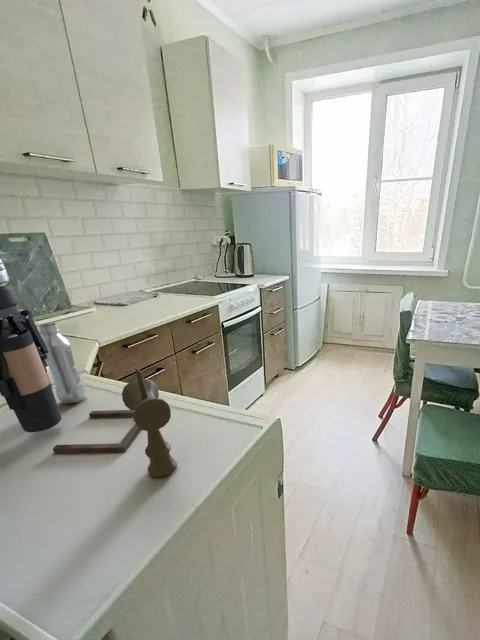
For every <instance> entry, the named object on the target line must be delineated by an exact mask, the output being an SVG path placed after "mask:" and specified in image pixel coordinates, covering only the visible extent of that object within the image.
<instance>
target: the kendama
mask: <svg viewBox="0 0 480 640" xmlns="http://www.w3.org/2000/svg"><path fill="white" fill-rule="evenodd" d="M135 375H136V379H133V380H131V381H129V382H128V383H126V385H124V386H123V389H122V392H121V398H122V399H121V400H122V402H123V405H124V407H126V408H127V409H128V410H134V417H133V421H134V424H135V423H136V425H137V426H138V427H139V428H140V429H141V431H143V432H147V433H146V434H147V446H146V447H145V449H144V453H145V456H146V457H148V459H149V464H148V465H147V474H149V475H150V476H151V477H153V478H163V477H166V476H168V475H171V474H172V473H173V472H174V471H176V470H177V467H178V463H177V460H176V459H175V458H173V457H172V456H171V453H170V451H171V448H172V447H171V444H170V443H169V442H168V441H166V440H165V438H164V437H163V434H162V432H161V430H160V429H162V428H164V427H165V426H166V425H167V424H168V423H169V422H170V418H171V415H172V413H171V412H172V411H171V410H172V409H171V407H170V405H169V403H168V402H167V401H166V400H165V399H163V398H161V397H160V398H159V396H160V395H159V394H160V393H159V388H158V386H157V384H156V383H155V382H154V381H153V380H151V379H148V378H144V377H143V375H142V372H141V370H140V369H139V368H137V369H135Z"/></svg>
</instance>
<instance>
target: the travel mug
mask: <svg viewBox="0 0 480 640" xmlns="http://www.w3.org/2000/svg"><path fill="white" fill-rule="evenodd" d="M0 347H1V349H2V351H3V353H4V356H5V358H6V361H7V363H8V375H9V378H14V380H15V383H16V385H17V387H18V390H19V392H20V394H21V397H22V399H23V401H24V404H25V406H26V408H24V409H15V410H13V412H14V414H15V416H16V418H17V420H18V422H19V424H20V426H21V428H22V430H23V431H24V432H25V433H29V434H30V433H31V434H33V433H39V432H43V431H47V430H50V429H52V428H54V427H55V426H57V425H58V424H59V423H61V421H62V415H61V412H60V409H59V405H58V403H57V400H56V397H55V394H54V392H53V391H54V390H53V387H52V388H51V385H52V384H51V385H50V383H51V381H50V382H49V380H50V378H49V379H48V377H49V376H48V377H47V375H48V373H47V374H46V372H45V369H44V366H43V364H42V361H41V359H40V356H39V354H38V351H37V349H36V346H35V344H34V341H33V339H32V336H31V333H30V331H29V330H28V329H26V333H24V334H22V335H17V334H11V335H10V336H9V337H8V338H6V339H0Z"/></svg>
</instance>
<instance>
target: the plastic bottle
mask: <svg viewBox="0 0 480 640" xmlns="http://www.w3.org/2000/svg"><path fill="white" fill-rule="evenodd" d="M38 331H39V333H40V335H41V337H42V339H43V341H44V343H45V345H46V347H47V349H48V353H47V354H45V355H47V359H46V360H44V362H45V363H46V365H47V367H48V369H49V371H50V374H51V377H52V380H53V384H54V389H55V395H56V397H57V399H58V400H59V402H61V403H63V404H66V405H69V404H70V405H71V404H75V403H78V402H81V401H82V400H84V399H85V398H86V397H87V393H88V392H87V387H86V386H85V383H84V382H83V380H82V379H81V377H80V375H79V372H78V370H77V368H76V365H75V360H74V356H73V351H72V346H71V342H70V341H69V340H68V339H67V338H66V337H64V336H63V335H62V334H61V333H59V332H60V329H59V327H58V324H57V323H56V322H48V323H43V324H40V325H38ZM38 348H40V347H38Z"/></svg>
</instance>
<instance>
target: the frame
mask: <svg viewBox="0 0 480 640" xmlns="http://www.w3.org/2000/svg"><path fill="white" fill-rule="evenodd" d="M88 415H89V418H90V419H103V418H104V419H108V418H134V410H130V409H115V410H111V409H110V410H91V411H90V412H89V413H88ZM141 431H142V429H140V428H139V427H138V426H137V425H136V423H135V422H134V425H132V427H131V428H130V430H129V431H128V432H127V433H126V435H125V436H124V438H122V440H121V442H119V443H116V442H115V443H80V444H79V443H78V444H74V443H73V444H56V445H55V446H54V447H53V448H52V453H54V454H55V455H56V454H59V455H61V454H97V453H98V454H99V453H100V454H101V453H102V454H103V453H104V454H105V453H107V454H108V453H126V452H127V450H128V449H129V447H130V446H131V445H132V443H133V442H134V441H135V439H136V438H137V436H138V435H139V434H140V433H141Z"/></svg>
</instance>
